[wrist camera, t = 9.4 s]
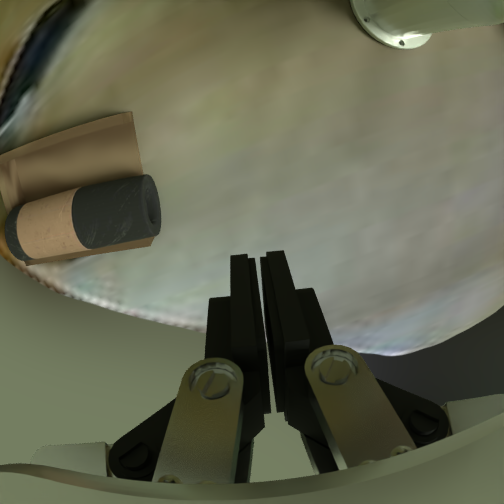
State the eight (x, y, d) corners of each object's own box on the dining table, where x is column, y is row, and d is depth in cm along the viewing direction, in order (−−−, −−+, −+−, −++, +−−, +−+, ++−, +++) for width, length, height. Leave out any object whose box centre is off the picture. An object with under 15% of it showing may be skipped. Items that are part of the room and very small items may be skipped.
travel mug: (148, 241, 31) (9, 266, 30) (165, 235, 38) (40, 257, 38) (137, 167, 30) (0, 206, 29) (157, 175, 37) (33, 205, 37)
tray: (8, 152, 32) (-8, 158, 29) (131, 111, 33) (121, 113, 29) (38, 253, 40) (26, 266, 36) (156, 232, 40) (150, 246, 37)
